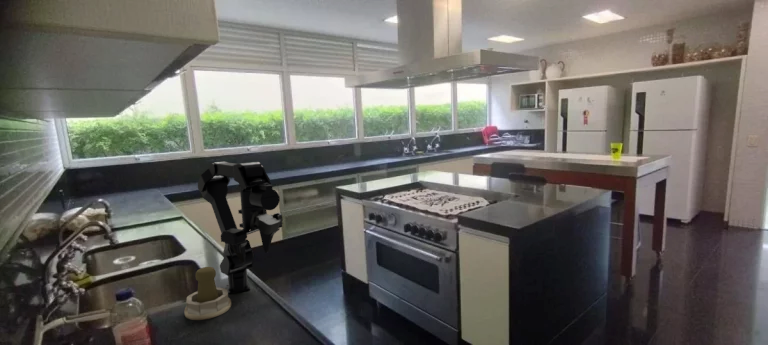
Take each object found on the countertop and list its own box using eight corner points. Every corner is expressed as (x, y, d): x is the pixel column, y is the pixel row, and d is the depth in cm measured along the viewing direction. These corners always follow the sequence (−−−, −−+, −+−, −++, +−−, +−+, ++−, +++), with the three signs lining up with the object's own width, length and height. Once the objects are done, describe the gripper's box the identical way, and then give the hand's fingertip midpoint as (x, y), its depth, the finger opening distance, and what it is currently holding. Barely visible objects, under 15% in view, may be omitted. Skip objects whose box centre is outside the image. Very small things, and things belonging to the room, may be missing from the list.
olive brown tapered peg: (223, 300, 106) (220, 264, 105) (214, 310, 100) (211, 272, 99) (202, 300, 106) (199, 264, 105) (192, 311, 100) (188, 273, 99)
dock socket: (185, 305, 106) (183, 292, 105) (229, 295, 111) (228, 283, 111) (184, 324, 95) (182, 310, 95) (233, 312, 101) (232, 299, 100)
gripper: (247, 215, 93) (252, 273, 95) (294, 201, 110) (297, 250, 112) (217, 211, 98) (221, 267, 100) (266, 198, 115) (269, 246, 116)
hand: (255, 257), depth 107 cm, fingers open, 9 cm apart
